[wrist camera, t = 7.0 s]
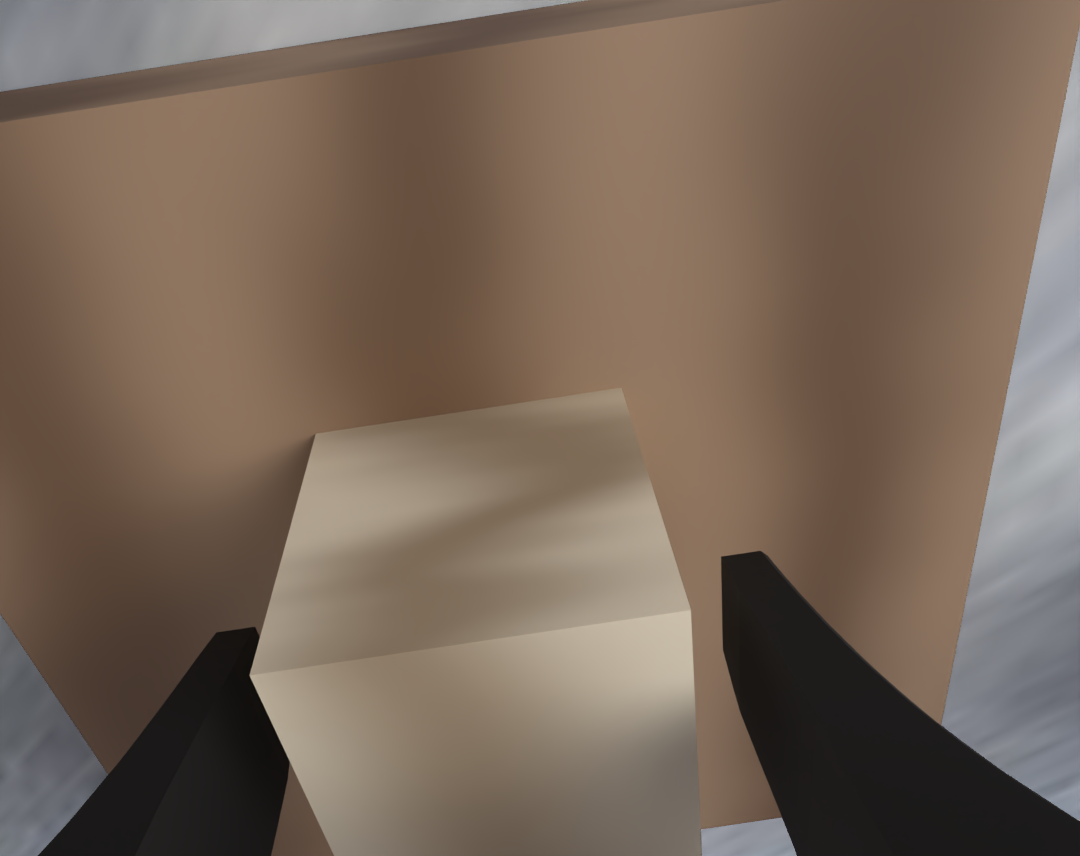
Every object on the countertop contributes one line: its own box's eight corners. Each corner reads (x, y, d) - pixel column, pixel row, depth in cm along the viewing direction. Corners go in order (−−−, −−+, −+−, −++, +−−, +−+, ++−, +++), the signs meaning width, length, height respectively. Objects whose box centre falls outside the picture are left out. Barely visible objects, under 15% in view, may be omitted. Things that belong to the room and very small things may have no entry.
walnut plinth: (974, -60, 13) (1093, -48, 11) (876, 696, 23) (927, 796, 20) (-155, 116, 13) (-298, 169, 11) (224, 793, 23) (195, 903, 21)
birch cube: (621, 388, 14) (691, 610, 9) (640, 608, 16) (702, 858, 12) (315, 433, 14) (249, 674, 9) (386, 646, 16) (358, 908, 12)
